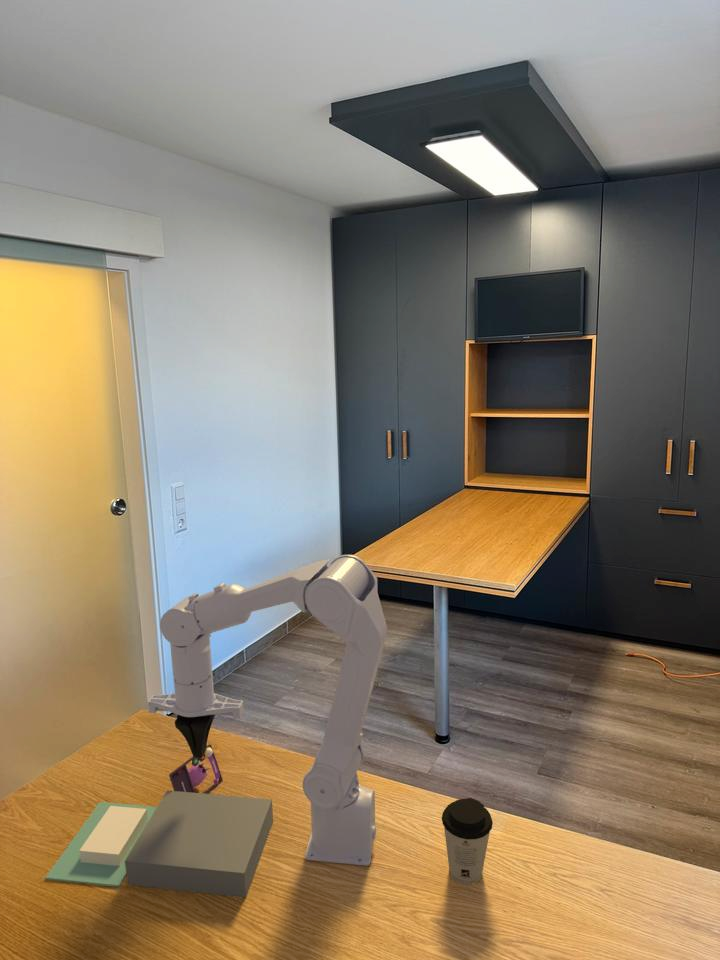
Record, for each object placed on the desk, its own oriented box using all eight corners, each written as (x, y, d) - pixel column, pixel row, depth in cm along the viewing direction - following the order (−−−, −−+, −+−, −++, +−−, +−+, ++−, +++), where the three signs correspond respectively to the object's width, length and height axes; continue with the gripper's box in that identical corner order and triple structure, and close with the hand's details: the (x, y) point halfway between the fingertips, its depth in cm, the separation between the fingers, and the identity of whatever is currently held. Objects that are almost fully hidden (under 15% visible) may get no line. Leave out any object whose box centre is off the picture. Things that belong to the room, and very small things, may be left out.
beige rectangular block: (110, 805, 104) (111, 816, 104) (79, 850, 95) (80, 862, 96) (146, 809, 103) (148, 819, 103) (118, 854, 94) (120, 866, 95)
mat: (164, 809, 106) (164, 807, 106) (119, 887, 92) (118, 885, 92) (100, 803, 108) (100, 801, 107) (45, 879, 93) (45, 877, 93)
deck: (273, 821, 103) (271, 799, 102) (246, 897, 90) (244, 873, 89) (169, 811, 105) (167, 790, 104) (127, 884, 92) (124, 860, 91)
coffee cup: (472, 901, 89) (474, 838, 86) (430, 872, 93) (431, 812, 91) (500, 869, 93) (503, 809, 91) (459, 843, 98) (461, 786, 96)
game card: (173, 774, 104) (213, 743, 112) (152, 773, 107) (193, 743, 114) (186, 814, 105) (226, 781, 112) (165, 812, 107) (205, 779, 115)
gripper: (247, 664, 103) (252, 740, 106) (158, 659, 105) (166, 734, 108) (233, 689, 96) (238, 770, 99) (138, 683, 98) (146, 762, 101)
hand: (199, 753), depth 103 cm, fingers closed
